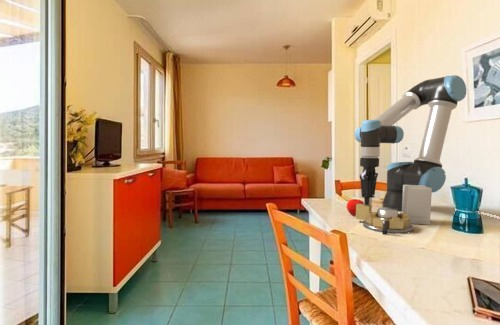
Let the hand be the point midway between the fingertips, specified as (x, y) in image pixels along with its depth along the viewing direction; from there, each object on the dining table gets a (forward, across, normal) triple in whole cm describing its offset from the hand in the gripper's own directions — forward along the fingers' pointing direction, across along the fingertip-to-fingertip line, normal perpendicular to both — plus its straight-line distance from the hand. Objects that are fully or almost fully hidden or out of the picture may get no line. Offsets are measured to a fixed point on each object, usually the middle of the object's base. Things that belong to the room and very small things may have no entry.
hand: (367, 212), depth 139 cm
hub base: (+3, +7, +11) cm, 13 cm away
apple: (+3, -5, -8) cm, 9 cm away
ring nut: (+2, +5, +8) cm, 10 cm away
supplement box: (+3, -12, +16) cm, 20 cm away
